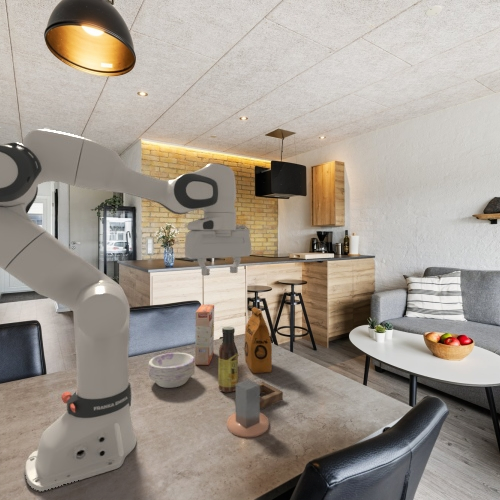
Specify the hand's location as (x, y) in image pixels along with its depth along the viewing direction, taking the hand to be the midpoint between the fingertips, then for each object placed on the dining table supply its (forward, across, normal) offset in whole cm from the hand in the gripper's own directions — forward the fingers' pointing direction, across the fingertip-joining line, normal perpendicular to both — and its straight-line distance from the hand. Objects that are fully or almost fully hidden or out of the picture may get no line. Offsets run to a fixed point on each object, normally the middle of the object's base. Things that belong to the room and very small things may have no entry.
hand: (220, 274), depth 92 cm
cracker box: (+39, -18, -37) cm, 57 cm away
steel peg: (+38, -2, +10) cm, 40 cm away
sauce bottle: (+39, -10, -10) cm, 42 cm away
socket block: (+39, -14, +2) cm, 42 cm away
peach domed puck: (+39, -2, +10) cm, 40 cm away
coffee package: (+39, -29, -17) cm, 52 cm away
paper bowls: (+39, +2, -26) cm, 47 cm away
